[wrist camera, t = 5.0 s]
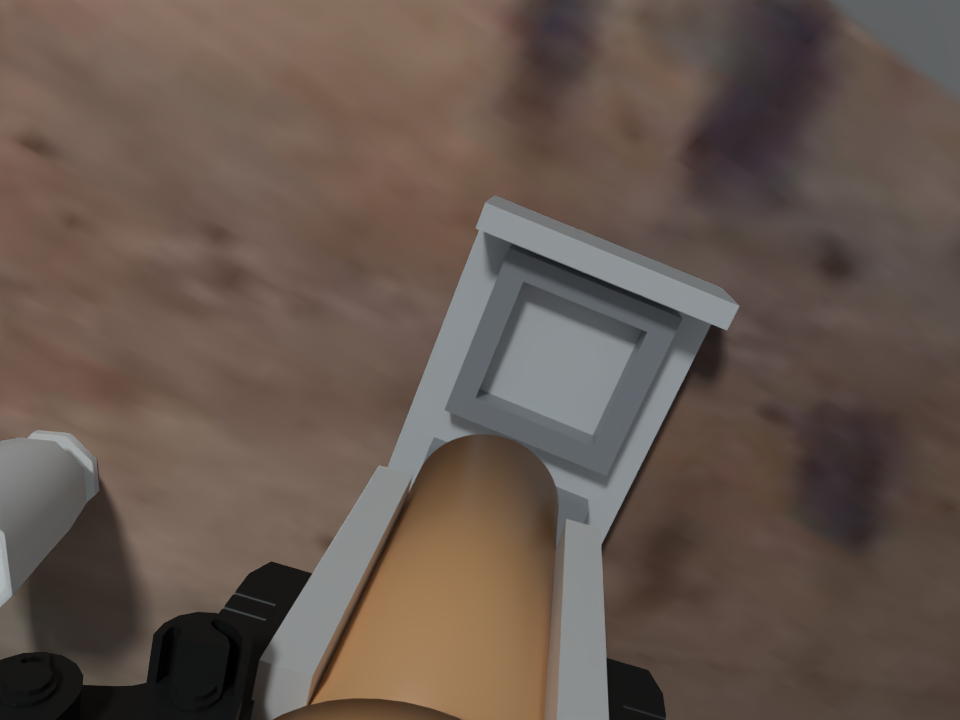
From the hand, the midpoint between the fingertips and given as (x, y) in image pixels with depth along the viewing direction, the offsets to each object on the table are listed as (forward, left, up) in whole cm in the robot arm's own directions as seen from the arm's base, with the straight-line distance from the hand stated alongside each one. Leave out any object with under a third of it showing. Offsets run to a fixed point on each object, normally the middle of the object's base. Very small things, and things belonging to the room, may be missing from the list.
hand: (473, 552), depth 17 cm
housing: (+2, -4, -17) cm, 18 cm away
